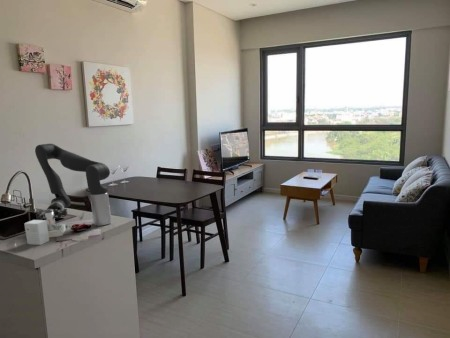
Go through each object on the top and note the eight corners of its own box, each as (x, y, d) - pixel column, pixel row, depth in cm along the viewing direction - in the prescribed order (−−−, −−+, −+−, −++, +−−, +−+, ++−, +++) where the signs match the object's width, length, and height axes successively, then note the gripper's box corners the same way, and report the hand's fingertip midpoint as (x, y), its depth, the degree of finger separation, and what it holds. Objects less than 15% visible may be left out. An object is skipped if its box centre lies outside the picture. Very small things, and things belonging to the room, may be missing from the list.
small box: (49, 241, 166) (46, 220, 164) (40, 245, 161) (37, 223, 159) (36, 240, 168) (33, 219, 167) (27, 244, 163) (23, 223, 161)
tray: (65, 229, 183) (64, 223, 182) (62, 235, 172) (61, 230, 172) (43, 232, 180) (42, 226, 179) (37, 239, 169) (37, 233, 169)
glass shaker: (57, 230, 178) (54, 208, 176) (55, 233, 175) (52, 210, 173) (48, 231, 177) (45, 209, 175) (46, 234, 174) (43, 211, 172)
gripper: (40, 204, 186) (32, 212, 171) (68, 201, 190) (63, 208, 174) (42, 217, 187) (34, 226, 172) (70, 214, 191) (65, 222, 176)
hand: (49, 217), depth 173 cm, fingers open, 8 cm apart
